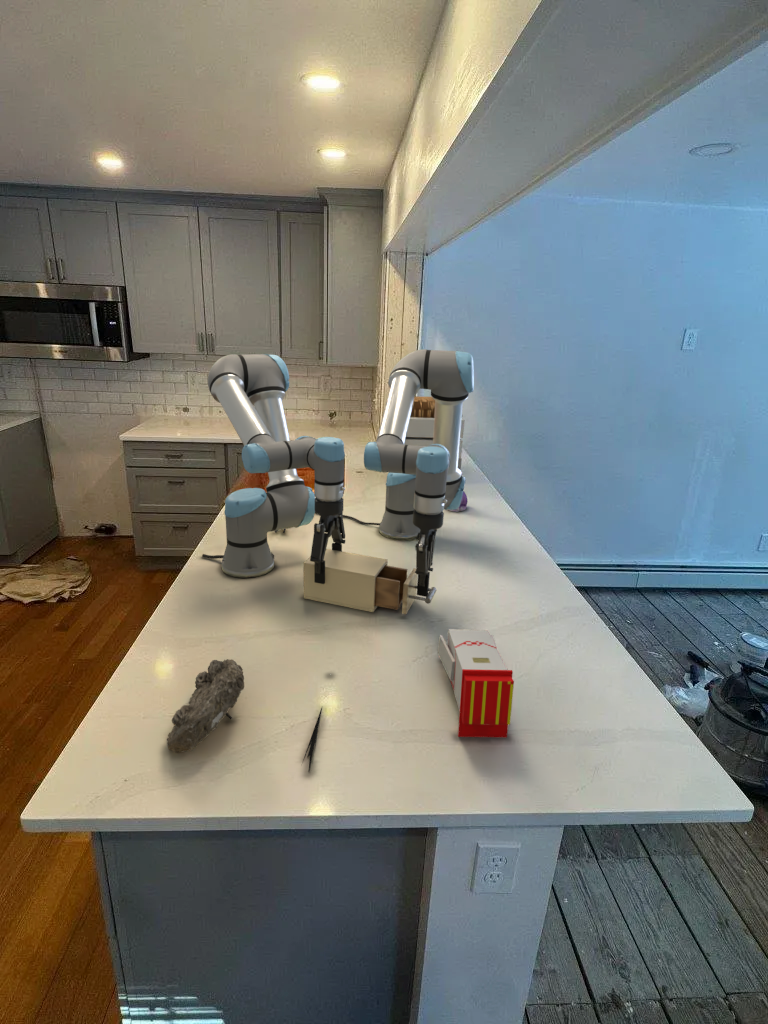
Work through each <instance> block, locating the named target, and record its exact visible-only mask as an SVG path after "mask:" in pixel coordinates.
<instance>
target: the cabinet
mask: <svg viewBox="0 0 768 1024" xmlns="http://www.w3.org/2000/svg"><path fill="white" fill-rule="evenodd" d="M310 558H311V555H310V556H309V557H308V558H307V559H306V560H305V561H303V567H302V568H303V569H302V570H303V577H302V579H303V581H302V582H303V599H306V600H309V601H310V600H311V601H316V602H319V603H326V604H331V605H335V606H341V607H345V608H351V609H355V610H360V611H365V612H370V613H374V612H375V611H376V609H377V608H378V606H375V582H376V576H377V575H378V574H379V573H380V571H381V570H382V569H383V567H384V566H385V565H387V566H388V558H382V557H376V556H370V555H365V554H360V553H353V552H347V551H343V550H342V551H337V550H332V548H331V549H330V548H326V551H325V556H324V561H325V584H320V583H315V582H314V562H312V561H310Z"/></svg>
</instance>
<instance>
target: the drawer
mask: <svg viewBox="0 0 768 1024" xmlns="http://www.w3.org/2000/svg"><path fill="white" fill-rule="evenodd" d="M408 570H409V569H408V568H404V567H397V566H393V565H388V564H387V565H385V566H384V567H383V569H382V570H381V571H380V573H379V574H378V575H377V576H376V582H375V606H377V607H380V608H385V609H390V610H395V611H398V610H399V609H400V607H401V606H402V607H401V614H402V615H407V614H408V612H409V610H410V609H411V607H412V605H413V604H414V602H415V600H416V601H417V600H418V601H422V602H424V603H425V604H428V605H429V604H431V602H432V600H433V598H434V596H435V594H436V593H437V587H435V586H431V587H429V589H428V595H427V597H424V596H418V595H417V583H418V574H416V573H415V571H416V567H413V568H412V570H411V572H410V573H408Z"/></svg>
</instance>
